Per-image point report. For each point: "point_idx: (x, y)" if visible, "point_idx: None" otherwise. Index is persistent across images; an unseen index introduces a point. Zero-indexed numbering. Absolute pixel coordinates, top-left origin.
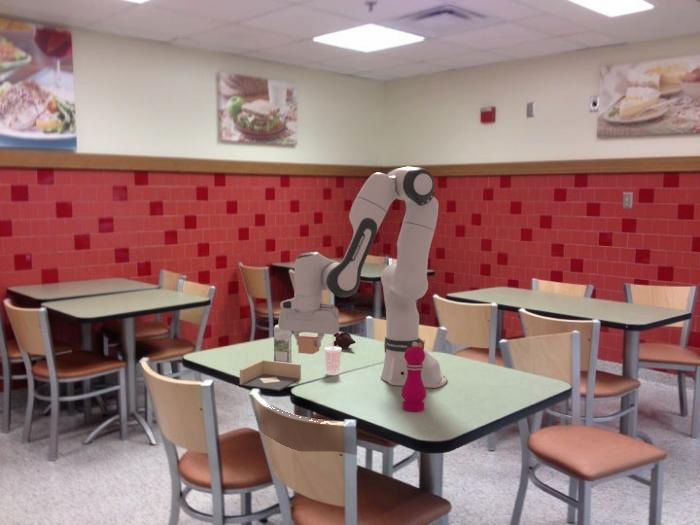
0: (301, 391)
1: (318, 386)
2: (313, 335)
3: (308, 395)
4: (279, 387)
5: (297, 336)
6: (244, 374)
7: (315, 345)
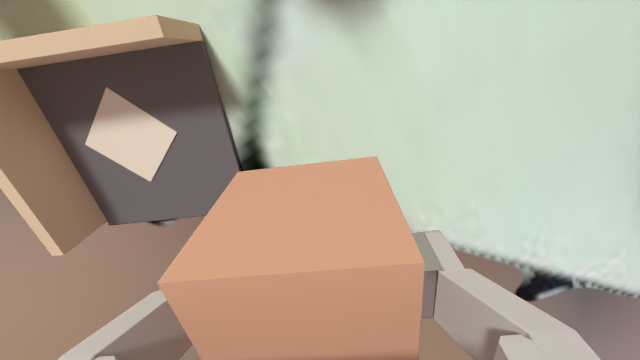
0: None
1: (339, 87)
2: (333, 295)
3: None
4: None
5: (159, 357)
6: (74, 227)
7: None
